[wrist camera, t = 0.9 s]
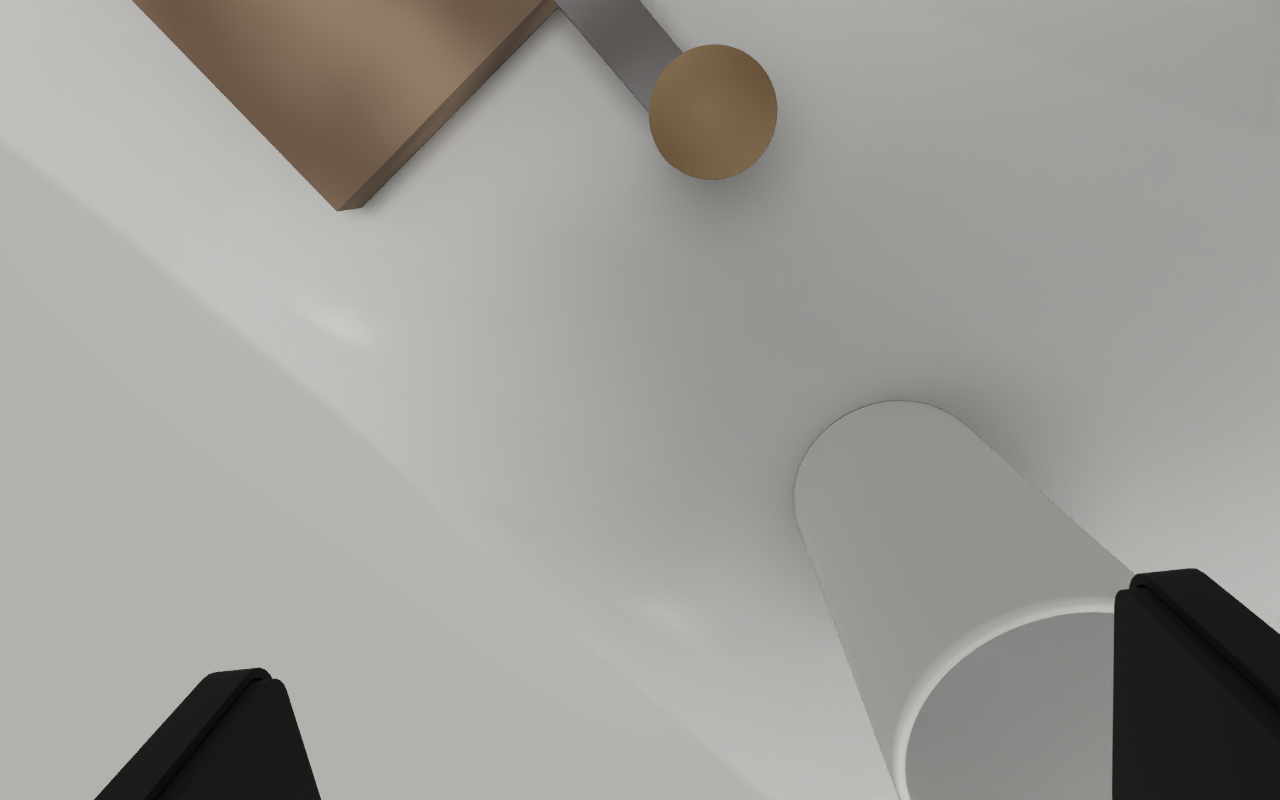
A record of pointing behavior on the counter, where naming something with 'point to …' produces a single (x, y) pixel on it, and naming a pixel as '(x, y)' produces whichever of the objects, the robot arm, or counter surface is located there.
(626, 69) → the hinged leg
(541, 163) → the counter surface
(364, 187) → the stool seat
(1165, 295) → the counter surface
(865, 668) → the cup
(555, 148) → the counter surface
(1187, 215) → the counter surface
